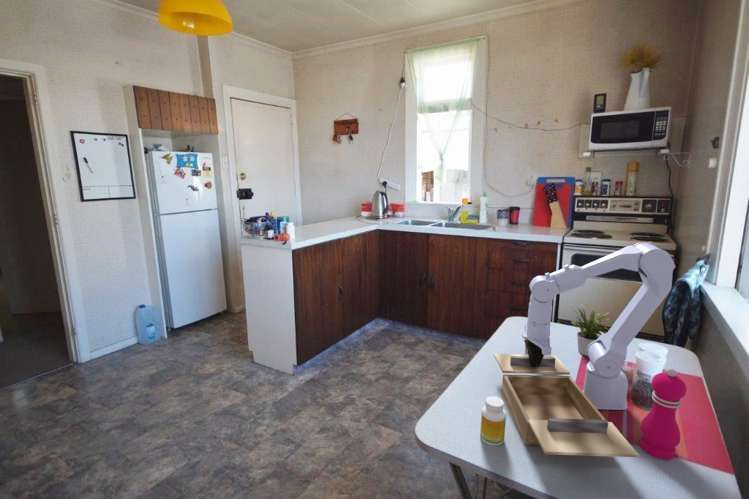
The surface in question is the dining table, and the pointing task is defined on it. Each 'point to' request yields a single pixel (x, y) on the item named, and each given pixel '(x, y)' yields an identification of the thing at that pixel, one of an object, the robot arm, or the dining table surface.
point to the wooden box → (544, 401)
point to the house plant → (588, 330)
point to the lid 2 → (581, 438)
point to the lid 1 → (522, 365)
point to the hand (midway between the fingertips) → (534, 366)
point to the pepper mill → (663, 416)
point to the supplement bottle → (493, 421)
